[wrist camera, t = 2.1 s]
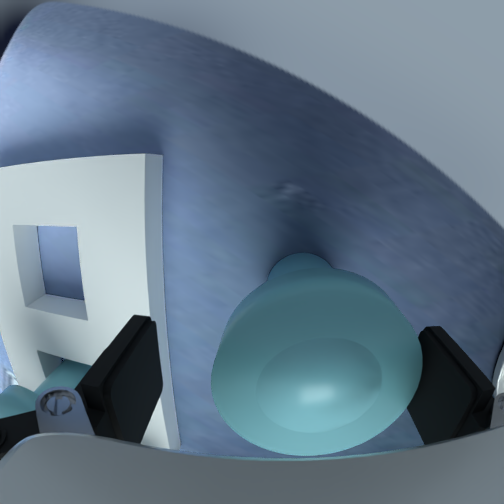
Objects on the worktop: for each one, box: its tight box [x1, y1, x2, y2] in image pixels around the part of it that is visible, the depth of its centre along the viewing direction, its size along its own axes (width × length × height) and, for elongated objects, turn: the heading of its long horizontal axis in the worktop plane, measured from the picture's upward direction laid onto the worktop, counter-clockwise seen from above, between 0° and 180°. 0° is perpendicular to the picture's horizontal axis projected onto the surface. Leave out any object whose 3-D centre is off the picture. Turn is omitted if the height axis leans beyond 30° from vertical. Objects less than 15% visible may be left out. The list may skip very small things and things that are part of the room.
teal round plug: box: [211, 253, 422, 456], centre depth 13 cm, size 7×7×9 cm
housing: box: [0, 154, 181, 450], centre depth 16 cm, size 14×22×8 cm, turn 177°
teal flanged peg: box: [0, 359, 91, 418], centre depth 16 cm, size 7×7×9 cm
